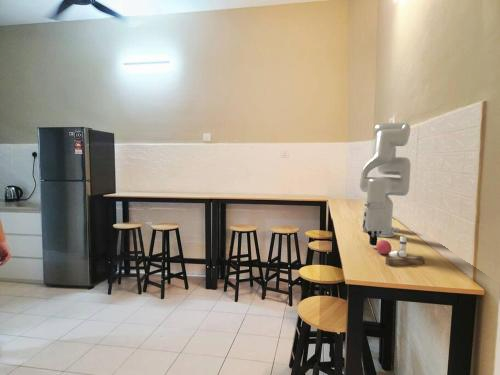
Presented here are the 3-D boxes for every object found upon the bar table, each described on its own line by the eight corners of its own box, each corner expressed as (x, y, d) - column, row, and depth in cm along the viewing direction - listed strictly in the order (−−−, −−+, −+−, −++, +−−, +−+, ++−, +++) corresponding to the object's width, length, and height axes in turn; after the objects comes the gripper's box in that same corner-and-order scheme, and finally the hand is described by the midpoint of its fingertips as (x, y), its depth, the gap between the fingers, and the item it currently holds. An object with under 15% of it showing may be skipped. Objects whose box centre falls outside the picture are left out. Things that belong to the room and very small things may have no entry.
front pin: (393, 250, 133) (405, 249, 124) (394, 257, 133) (407, 256, 124) (387, 251, 133) (400, 250, 124) (389, 257, 132) (401, 257, 123)
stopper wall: (420, 262, 127) (421, 256, 127) (424, 263, 125) (424, 257, 125) (385, 263, 124) (385, 257, 123) (388, 265, 122) (389, 259, 121)
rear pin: (402, 257, 133) (403, 236, 132) (406, 259, 130) (408, 237, 129) (397, 257, 132) (398, 236, 131) (401, 259, 130) (402, 238, 129)
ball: (395, 247, 132) (391, 256, 136) (389, 236, 137) (385, 245, 141) (382, 249, 132) (378, 258, 136) (376, 238, 136) (372, 246, 140)
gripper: (365, 207, 139) (362, 247, 140) (395, 206, 142) (392, 246, 143) (356, 204, 146) (354, 243, 148) (384, 204, 149) (382, 242, 151)
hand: (373, 244), depth 146 cm, fingers closed
